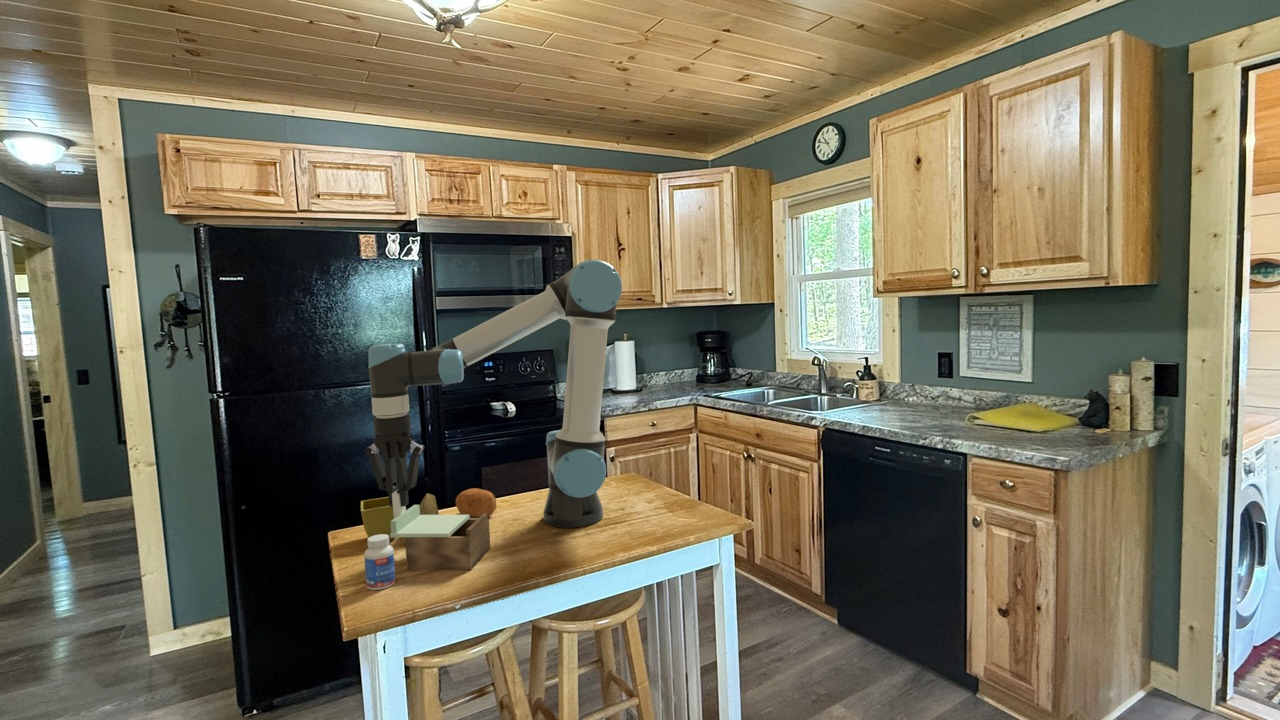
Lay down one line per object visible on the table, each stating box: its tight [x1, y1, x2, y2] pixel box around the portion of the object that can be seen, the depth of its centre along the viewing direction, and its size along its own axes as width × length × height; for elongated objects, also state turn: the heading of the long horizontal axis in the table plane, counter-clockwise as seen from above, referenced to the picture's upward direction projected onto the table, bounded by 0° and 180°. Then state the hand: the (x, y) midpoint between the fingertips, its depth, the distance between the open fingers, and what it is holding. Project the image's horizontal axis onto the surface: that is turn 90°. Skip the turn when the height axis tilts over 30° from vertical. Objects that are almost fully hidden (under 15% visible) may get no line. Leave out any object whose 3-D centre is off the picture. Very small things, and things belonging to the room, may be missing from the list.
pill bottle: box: [363, 534, 396, 591], centre depth 126 cm, size 6×5×10 cm
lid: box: [390, 504, 471, 538], centre depth 138 cm, size 13×12×3 cm
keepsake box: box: [404, 513, 491, 571], centre depth 138 cm, size 14×12×8 cm
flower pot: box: [360, 496, 397, 541], centre depth 152 cm, size 9×9×9 cm
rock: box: [418, 493, 440, 515], centre depth 152 cm, size 11×9×10 cm
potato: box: [455, 487, 497, 518], centre depth 166 cm, size 9×11×8 cm
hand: (400, 520), depth 139 cm, fingers closed
